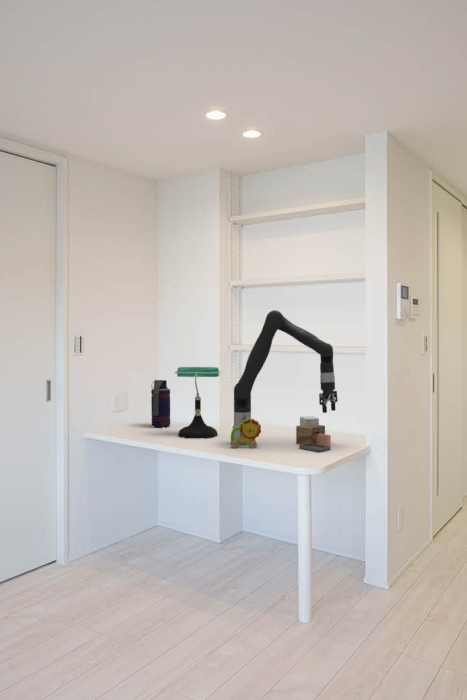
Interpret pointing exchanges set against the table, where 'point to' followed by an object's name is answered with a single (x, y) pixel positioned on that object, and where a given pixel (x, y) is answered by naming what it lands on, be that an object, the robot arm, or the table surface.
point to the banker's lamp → (197, 404)
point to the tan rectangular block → (323, 439)
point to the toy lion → (246, 433)
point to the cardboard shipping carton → (308, 433)
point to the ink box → (309, 420)
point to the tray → (314, 447)
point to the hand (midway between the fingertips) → (329, 411)
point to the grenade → (160, 403)
